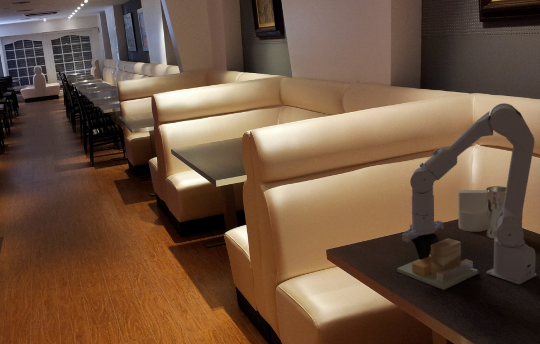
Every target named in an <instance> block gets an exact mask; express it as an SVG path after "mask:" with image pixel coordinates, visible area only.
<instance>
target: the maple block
mask: <svg viewBox="0 0 540 344" xmlns="http://www.w3.org/2000/svg"><path fill="white" fill-rule="evenodd" d="M430 254H431V274H434V275H436V272H438V271H440V270H443V269H445V268H447V267H449V266H452V265H454V264H456V263H458V262H461V261H462V242H461V240H460V241H459V240H455V239H453V238H449V237H448V238H445V239H442V240H439V241H438V242H434V243H433V244H432V245H431V251H430Z"/></svg>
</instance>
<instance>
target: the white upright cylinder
mask: <svg viewBox="0 0 540 344" xmlns="http://www.w3.org/2000/svg"><path fill="white" fill-rule="evenodd" d="M457 196H458V228H459V229H460V230H462V231H466V232H471V233H472V232H473V233H476V232H477V233H478V232H479V233H480V232H483V231H487V229H488V219H487V213H486V207H485V198H486V189H481V190H480V189H471V190H470V189H466V190H465V189H464V190H463V189H461V190H460V189H459V190H458V195H457Z"/></svg>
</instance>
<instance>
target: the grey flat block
mask: <svg viewBox="0 0 540 344" xmlns="http://www.w3.org/2000/svg"><path fill="white" fill-rule="evenodd" d="M429 256H431V253H430V254H429ZM419 260H420V259H419V258H418V259H416V260H414V261H411V262H408V263H407V264H404V265H402V266H399V267H397V268H396V272H397V273H399V274H402V275H404V276H407V277H410V278H413V279H415V280H418V281H420V282H422V283H424V284H425V283H426V284H428V285H431V286H433V287H435V288H438V289H441V290H443V291H445V290H447V289H448V288H451V287H452V286H455V285H457V284H459V283H461V282H463V281H465V280H468V279H470V278H471V277H474V276H476V275H478V274H479V269H477V268H474V265H473V260H470V259H468V258H465V259H464V260H461V262H458V263H456V264H454V265H452V266H449V267H447V268H445V269H443V270H440V271H438V272H436V275H434V274H431V273H430V274H428V275H426V276H422V275H420V274H417V273H414V272H412V263H414V262H417V261H419ZM467 278H468V279H467Z"/></svg>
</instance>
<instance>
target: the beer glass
mask: <svg viewBox="0 0 540 344" xmlns="http://www.w3.org/2000/svg"><path fill="white" fill-rule="evenodd" d="M485 190H486V198H485V207H486V213H487V219H488V229H486V237H487V238H490V239H493V240H494V238H495V237H496V232H497V226H496V220H497V218H498V216H499V215H500V214H501V212H502V207H503V204H504V199H505V192H506V186H501V185H496V186H488V187H486V188H485Z"/></svg>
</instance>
